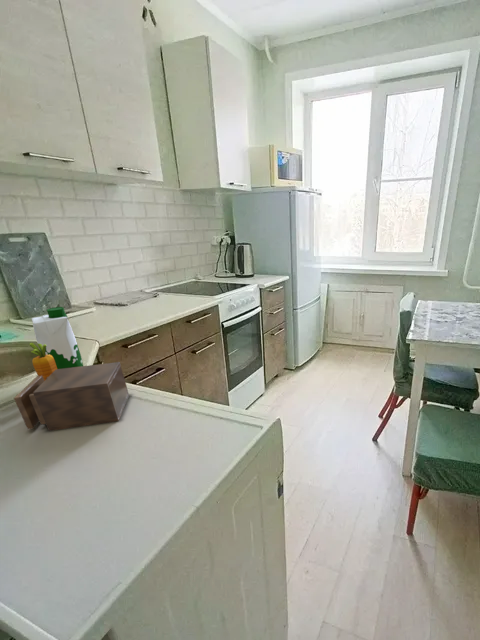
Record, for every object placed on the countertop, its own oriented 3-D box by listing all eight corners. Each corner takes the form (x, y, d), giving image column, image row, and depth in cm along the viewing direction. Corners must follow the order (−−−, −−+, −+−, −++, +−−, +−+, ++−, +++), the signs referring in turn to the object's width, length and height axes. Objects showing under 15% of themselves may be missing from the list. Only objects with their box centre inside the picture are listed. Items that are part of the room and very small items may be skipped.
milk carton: (89, 377, 103) (67, 309, 95) (54, 386, 99) (27, 316, 90) (84, 368, 110) (62, 304, 101) (50, 376, 105) (25, 310, 96)
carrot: (71, 394, 94) (52, 340, 87) (52, 402, 90) (30, 347, 83) (61, 390, 96) (41, 338, 89) (42, 398, 92) (20, 344, 86)
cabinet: (48, 431, 78) (32, 392, 73) (68, 404, 89) (55, 369, 85) (118, 421, 80) (107, 383, 76) (129, 396, 91) (119, 361, 87)
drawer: (21, 430, 77) (7, 398, 73) (43, 405, 87) (31, 376, 84) (93, 420, 79) (82, 389, 76) (106, 397, 89) (97, 368, 86)
